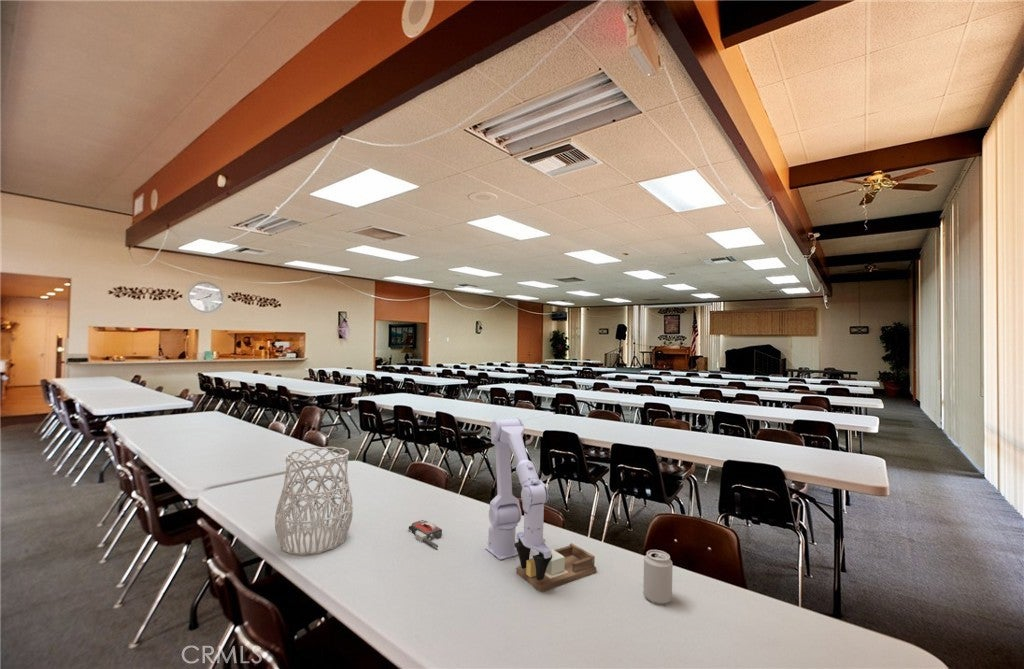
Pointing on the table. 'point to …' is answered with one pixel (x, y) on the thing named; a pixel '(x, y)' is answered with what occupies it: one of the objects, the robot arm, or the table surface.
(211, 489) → the table surface
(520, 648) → the table surface
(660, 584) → the can
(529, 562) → the block
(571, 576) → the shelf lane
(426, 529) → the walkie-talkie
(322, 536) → the vase
